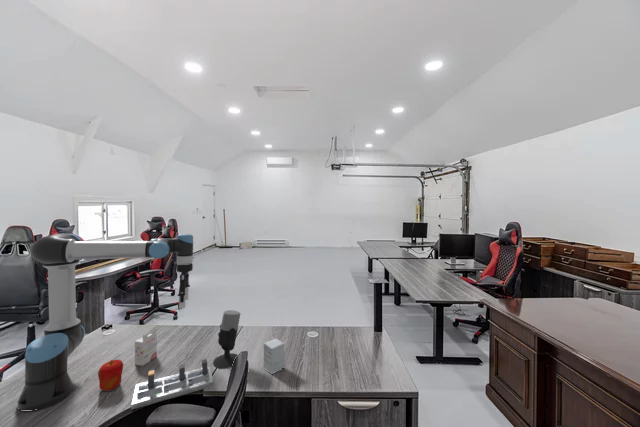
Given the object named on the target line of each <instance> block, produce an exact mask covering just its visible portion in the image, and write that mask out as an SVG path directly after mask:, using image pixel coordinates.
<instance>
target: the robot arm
mask: <svg viewBox="0 0 640 427" xmlns="http://www.w3.org/2000/svg"><path fill="white" fill-rule="evenodd" d="M168 254H176V272H177V273H180V275H179V289H178V294H177V297H178V309H179V310H180V309H181V310H182V309H185V308H186V300H187V301H188V300H189V288H190V287H191V285H190V280H189V278H190V272H191V271H193V268H194V267H193V266H194V265H193V262H194V259H195V257H194V235H193V234H190V233H180V234H178V235H177V236H176V237H175V238H174V237H173V238H163V237H161V238H157V237H156V238H151V239H150V240H149V241H148V240H133V241H132V240H131V241H130V240H129V241H126V240H124V241H123V240H115V241H112V240H110V241H109V240H108V241H107V240H105V241H102V240H101V241H97V240H94V241H91V240H90V241H82V239H81V238H80V237H79V236H77V235H75V234H73V233H57V234H51V235H46V236H43V237H41V238H38V239H37V240H36V241H35V242H34V243H32V245H31V247H30V255H31V257H32V258H33V259H34V260H35V261H37V262H39V263H42V268H45V269H47V277H48V278H47V280H48V282H47V284H48V286H47V288H48V324H47V325H46V326H45V327H44V329H43V330H44V331H43V335H42V336H41V337H39V338H36V339H34V340H33V341H31V342H30V343H29V344H28V345H27V347H26V348H25V354H24V359H25V361H24V362H25V363H24V364H25V367H24V368H25V369H24V387H23V389H22V391H21V394H20V395H19V398H18V400H17V409H18V408H19V409H20V410H35V409H40V410H42V408H43V409H46V408H48V406H49V407H51V406H53V405H56V404H58V403H59V402H61V401H62V400H64V399H66V398H67V397H68V396H70V394H71V393H72V391H73V388H74V387H73V384H74V383H73V380H72V379H71V377H70V375H69V373H68V358H69V356H70V355H72V353H73V352H74V351H75V350H76V348H78V347H79V346H80V345H81V343H82V342H83V341H84V337H85V334H86V332H85V328H84V326H83V325H82V323H81V322H82V321H81V319H80V318H78V317H77V298H76V295H77V294H76V292H77V291H76V266H77V265H78V264H80V260H106V259H138V258H142V259H143V258H147V259H148V258H154V259H159V260H160V259H162V258H165V257H166V256H167V255H168ZM45 407H46V408H45Z"/></svg>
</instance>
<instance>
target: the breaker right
mask: <svg viewBox="0 0 640 427" xmlns="http://www.w3.org/2000/svg"><path fill="white" fill-rule="evenodd" d="M207 366H208V359H207V358H205V359H204V358H203V359H202V360H201V368H202V371H200V375H203V374H206V373H208V369H207Z"/></svg>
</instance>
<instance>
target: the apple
mask: <svg viewBox="0 0 640 427" xmlns="http://www.w3.org/2000/svg"><path fill="white" fill-rule="evenodd" d="M123 369H124V362H123V361H122V360H121V359H113V360H112V359H111V360H109V361H107V362H105V363H104V364H102V365H101V366H100V368H99V370H98V372H97V375H98V380H99V389H100V391H101V390H102V391H105V392H109V391H110V392H111V391H112V390H115V389H117V388H118V387H119V385H120V384H121V382H122V374H123Z"/></svg>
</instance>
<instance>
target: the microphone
mask: <svg viewBox="0 0 640 427" xmlns="http://www.w3.org/2000/svg"><path fill="white" fill-rule="evenodd" d="M240 319H241V312H240V311H237V310H225V311H224V312H223V315H222V320H221V324H220V325H219V332H218V333H217V335H218V340H217V342H218V344H219V346H220V347H221V349H222V350H223V351H224V352H223V353H224V354H220V355H219V356H217V357H216V358H214V360H213V362H212V365H213V367H214V368H216V369H220V370H225V368H227V369H230V368H233V367H232V364H233V361H234V359H235V357H236V356H237V355H238V354H236V353H234V352H233V353H231V351H232V350H234V348H235V345H236V340H237V334H238V329H239V324H240Z"/></svg>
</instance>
